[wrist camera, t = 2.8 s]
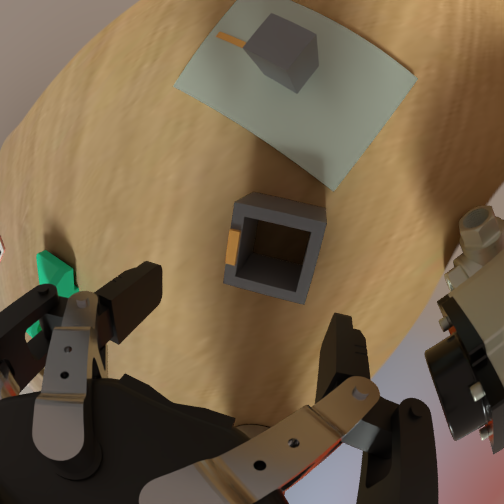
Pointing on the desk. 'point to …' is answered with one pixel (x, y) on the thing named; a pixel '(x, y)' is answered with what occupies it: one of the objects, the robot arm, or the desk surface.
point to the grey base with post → (297, 83)
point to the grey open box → (264, 267)
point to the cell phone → (1, 249)
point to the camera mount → (53, 280)
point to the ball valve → (473, 332)
